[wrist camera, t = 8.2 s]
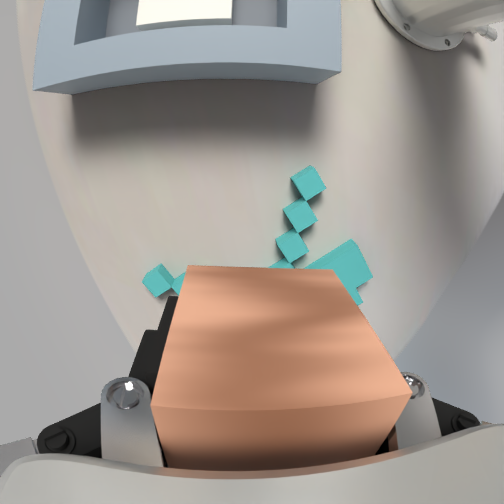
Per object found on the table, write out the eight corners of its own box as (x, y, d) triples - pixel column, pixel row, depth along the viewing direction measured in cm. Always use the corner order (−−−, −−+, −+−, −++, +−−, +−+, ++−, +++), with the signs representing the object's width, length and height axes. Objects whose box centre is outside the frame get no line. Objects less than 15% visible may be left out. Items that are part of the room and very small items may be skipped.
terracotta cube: (332, 269, 11) (412, 393, 5) (310, 373, 12) (345, 492, 7) (187, 265, 10) (150, 405, 5) (193, 373, 12) (181, 501, 6)
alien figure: (147, 272, 32) (250, 381, 39) (141, 281, 30) (250, 393, 36) (308, 164, 28) (384, 307, 35) (314, 167, 26) (391, 317, 33)
